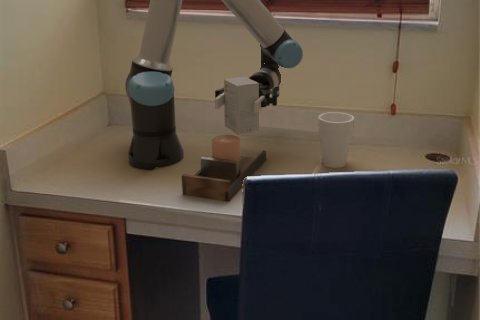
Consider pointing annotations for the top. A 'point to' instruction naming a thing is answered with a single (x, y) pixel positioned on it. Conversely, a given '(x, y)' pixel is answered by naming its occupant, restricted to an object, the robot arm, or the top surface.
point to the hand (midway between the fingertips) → (235, 105)
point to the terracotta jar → (226, 148)
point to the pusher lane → (221, 181)
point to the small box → (241, 105)
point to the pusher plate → (219, 168)
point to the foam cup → (335, 137)
